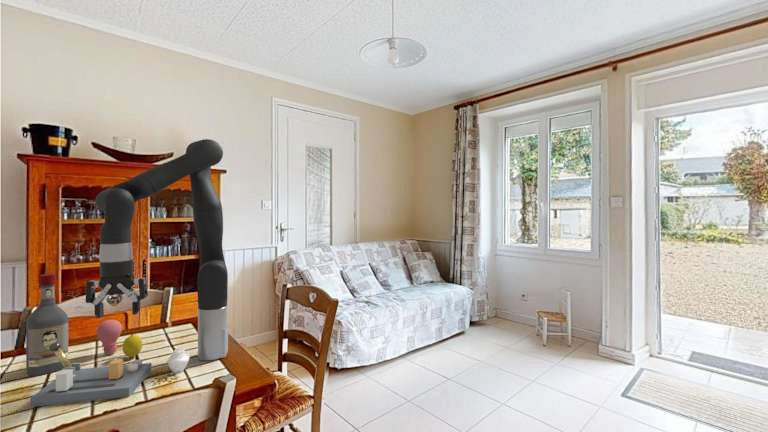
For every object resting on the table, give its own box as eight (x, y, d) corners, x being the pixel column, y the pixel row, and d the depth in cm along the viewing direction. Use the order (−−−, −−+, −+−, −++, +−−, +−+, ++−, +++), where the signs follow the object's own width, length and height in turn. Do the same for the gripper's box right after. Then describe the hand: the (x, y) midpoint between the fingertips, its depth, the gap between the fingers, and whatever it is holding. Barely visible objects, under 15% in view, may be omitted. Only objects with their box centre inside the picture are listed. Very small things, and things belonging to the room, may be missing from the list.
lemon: (132, 361, 118) (132, 337, 118) (118, 360, 119) (118, 336, 119) (146, 355, 123) (146, 332, 123) (133, 353, 125) (133, 331, 124)
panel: (151, 370, 112) (151, 356, 112) (129, 396, 96) (129, 380, 96) (68, 378, 106) (68, 363, 106) (30, 406, 91) (30, 389, 91)
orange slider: (123, 374, 103) (123, 358, 103) (118, 378, 100) (118, 362, 100) (113, 374, 103) (113, 359, 102) (108, 379, 100) (108, 363, 100)
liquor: (25, 369, 111) (25, 274, 111) (64, 360, 118) (64, 271, 118) (28, 378, 105) (28, 278, 105) (69, 368, 112) (69, 274, 112)
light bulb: (91, 356, 122) (91, 321, 122) (114, 348, 128) (114, 316, 128) (104, 359, 119) (104, 324, 119) (126, 352, 126) (126, 318, 126)
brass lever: (77, 364, 106) (60, 339, 105) (72, 368, 104) (54, 342, 102) (68, 369, 106) (50, 344, 104) (63, 373, 103) (44, 347, 102)
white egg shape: (168, 368, 114) (168, 346, 114) (190, 364, 116) (190, 343, 116) (165, 376, 108) (165, 353, 108) (188, 372, 111) (188, 350, 111)
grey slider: (73, 385, 96) (73, 368, 96) (66, 390, 94) (66, 373, 93) (62, 386, 96) (62, 369, 96) (55, 391, 93) (55, 374, 93)
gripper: (149, 256, 106) (151, 309, 106) (93, 258, 102) (95, 314, 102) (140, 259, 99) (141, 317, 99) (79, 262, 95) (80, 322, 95)
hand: (118, 315), depth 101 cm, fingers open, 8 cm apart
